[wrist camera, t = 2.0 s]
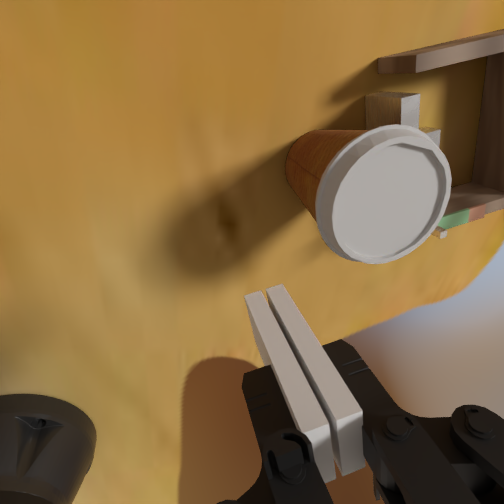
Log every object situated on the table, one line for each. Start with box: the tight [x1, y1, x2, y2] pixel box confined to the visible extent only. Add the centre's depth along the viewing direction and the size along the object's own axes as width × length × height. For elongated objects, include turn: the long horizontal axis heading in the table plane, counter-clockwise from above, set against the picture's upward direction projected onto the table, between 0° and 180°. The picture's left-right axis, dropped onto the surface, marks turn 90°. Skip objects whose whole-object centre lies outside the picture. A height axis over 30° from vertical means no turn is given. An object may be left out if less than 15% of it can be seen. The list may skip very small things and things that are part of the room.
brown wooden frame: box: [378, 29, 504, 229], centre depth 32 cm, size 12×16×5 cm
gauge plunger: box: [365, 91, 447, 239], centre depth 30 cm, size 6×11×9 cm, turn 12°
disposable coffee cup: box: [285, 124, 452, 264], centre depth 27 cm, size 10×10×12 cm
